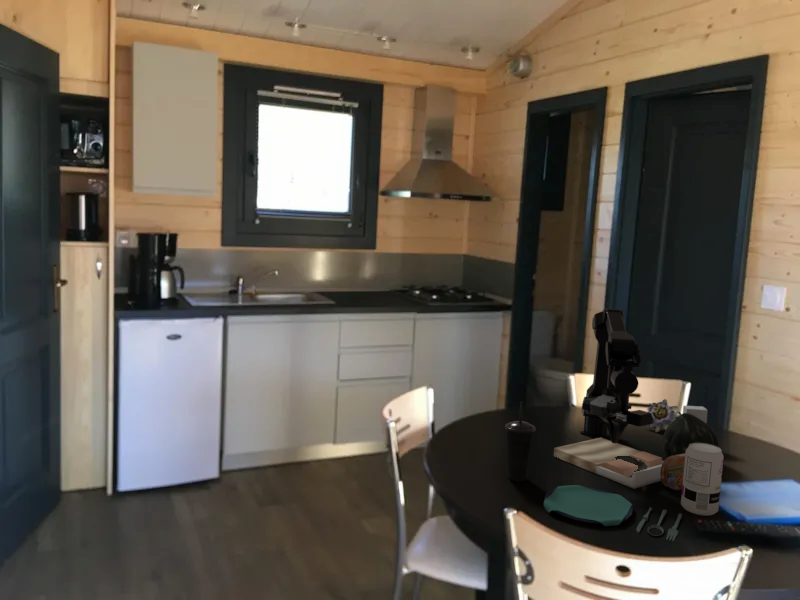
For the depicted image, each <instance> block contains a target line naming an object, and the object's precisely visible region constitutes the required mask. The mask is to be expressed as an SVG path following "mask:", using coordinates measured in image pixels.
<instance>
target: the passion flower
mask: <svg viewBox="0 0 800 600" xmlns="http://www.w3.org/2000/svg"><path fill="white" fill-rule="evenodd" d="M648 405H649V407H648V408H647V409H646V410H647V412H649V413H651V414H652V416H653V424H650V425H648V426H649V429H654V431H655V433H659V432H660V431H661V428H662V427H663V429H664V430H666V429H667V427H668V426H669V425H670V424H671V423H672V422H673V421H674V420H676V419H677V418H678V417H679V416H680V415H681V414H682V413H681V411H677V410H678V409H679V406H678V405H672V406H669V404H668V400H667V399H666V398H664V399H662V401H659V402H652V403H650V402H649V403H648Z"/></svg>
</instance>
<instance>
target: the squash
mask: <svg viewBox="0 0 800 600" xmlns="http://www.w3.org/2000/svg"><path fill="white" fill-rule="evenodd" d="M664 430H665V429H664ZM691 443H705V444H710V445H714V446H717V447H719V446H720V445H719V440H718V436H717V434H716V431H715V430H714V429H713V427H712V426H711V425H710V424H708V423H705V422H704V421H702V420H701V419H699V418H697V417H696V416H694V415H691V414H689V413H683V412H682V413H681V415H680V416H679V417H678V418H677V419H676V420H674V421H673V422H671V423H670V425H669V426H668V427H667V429H666V430H665V431H664V433H663V436H662V445H663V446H662V448H663V452H664V455H665V457H666V458H668V457H670V456H674V455H679V454H684V453H685V452H686V449H687V448H688V447H689V444H691ZM719 448H720V447H719Z"/></svg>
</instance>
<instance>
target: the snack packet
mask: <svg viewBox="0 0 800 600" xmlns="http://www.w3.org/2000/svg"><path fill="white" fill-rule="evenodd" d="M663 461H664V462H663V464H662V466H661V473H660V475H661V481H660V482H661V483H662V484H663V486H665V487H666V488H669V489H671V490H673V491H680V490H682V485H683V474H684V463H685V453H684V454H679V455H674V456H670V457H666V458H665V459H664V460H663Z"/></svg>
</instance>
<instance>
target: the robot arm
mask: <svg viewBox="0 0 800 600" xmlns="http://www.w3.org/2000/svg"><path fill="white" fill-rule="evenodd" d="M591 322H592V323H591V327H592V328H591V329H592V330H593V334H594V337H595V339H596V340H597V346H596V353H595V363H594V373H593V379H592V380H593V382H592V384H591V385H590V386H589V387H588V388H587V389H586V393H585V396H584V397H583V400H582V403H581V415H582V416H583V417H584V420H583V421H584V422H583V430H581V431H580V434H581V433H582V435H584V434H585V436H587V435H588V436H587V437H591V438H592V439H596V438H604V437H609V438H610V441H611V442H612V443H618V441H619V439H620V438H621V436H622V434H623V433H624V431H625V429H626V428H627V427H628V426H629V425H632V426H635V427H644V426H649V425H650V424H653V416H652V414H651V413H649V411H645V410H641V409H637V410H632V407H633V406H632V404H630V395H633V394H634V392H636V391H637V389H638V388H639V380H638V378H637V376H636V375H635V374H634V372H633V369H634V368H640V364H641V362H642V361H641V352H640V351H641V350H640V347H639V346H638V345H639V344H638V343H637V342H636V340H635V338H634V336H633V335H632V334H630V333H628V332H627V329H626V325H625V315H624V314H623V310H622V309H620V308H603V310H602V311H600V312H597V313H595V314H594V315H593V316H592V321H591ZM630 410H632V411H630Z"/></svg>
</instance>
